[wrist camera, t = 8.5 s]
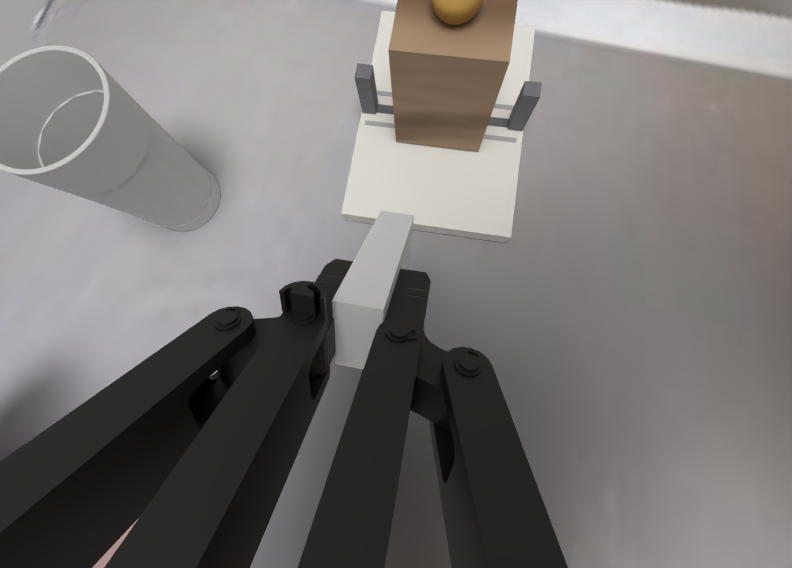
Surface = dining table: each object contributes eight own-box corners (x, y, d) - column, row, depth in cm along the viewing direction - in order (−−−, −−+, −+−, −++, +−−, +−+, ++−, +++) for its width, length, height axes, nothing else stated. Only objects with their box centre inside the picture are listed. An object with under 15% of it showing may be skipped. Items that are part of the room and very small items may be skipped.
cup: (226, 151, 31) (108, 33, 19) (232, 232, 29) (109, 160, 17) (143, 166, 31) (-25, 59, 19) (145, 247, 29) (-34, 185, 18)
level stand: (505, 242, 28) (528, 219, 22) (344, 219, 29) (329, 192, 23) (529, 39, 31) (554, -24, 25) (383, 26, 32) (377, -38, 26)
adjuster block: (478, 151, 27) (525, 15, 16) (396, 141, 28) (384, 3, 16) (487, 88, 28) (537, -84, 17) (407, 79, 29) (403, -93, 17)
